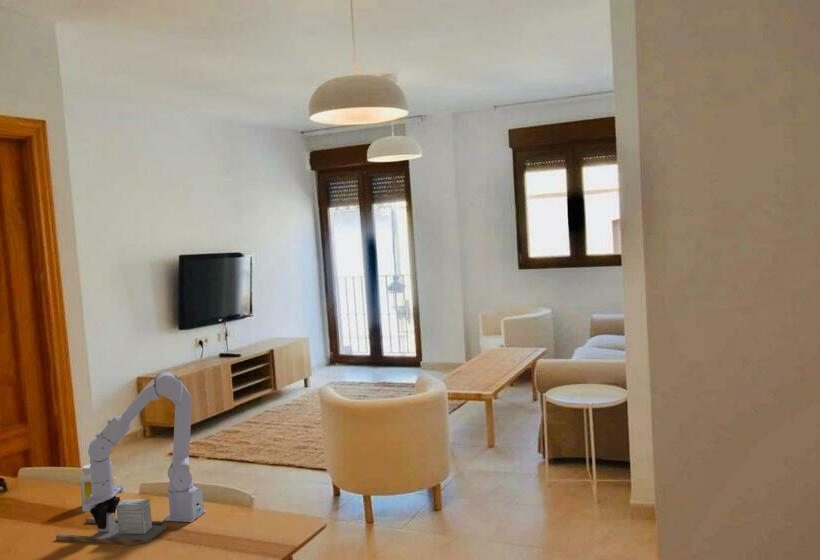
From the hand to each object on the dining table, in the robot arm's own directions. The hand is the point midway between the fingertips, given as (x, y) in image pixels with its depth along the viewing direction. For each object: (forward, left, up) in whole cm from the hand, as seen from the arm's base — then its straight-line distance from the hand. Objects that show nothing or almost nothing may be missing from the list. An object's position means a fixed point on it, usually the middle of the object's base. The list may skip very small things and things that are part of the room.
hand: (105, 526), depth 185 cm
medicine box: (-10, 0, -1) cm, 10 cm away
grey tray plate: (-8, 0, -2) cm, 8 cm away
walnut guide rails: (-1, 0, -2) cm, 2 cm away
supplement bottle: (+20, -18, -2) cm, 27 cm away
